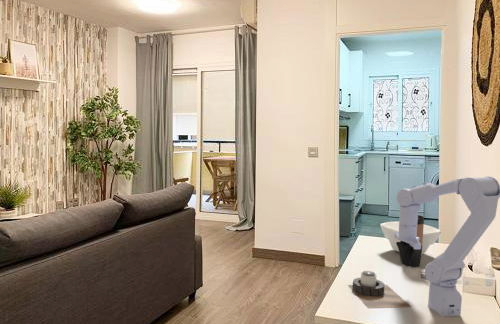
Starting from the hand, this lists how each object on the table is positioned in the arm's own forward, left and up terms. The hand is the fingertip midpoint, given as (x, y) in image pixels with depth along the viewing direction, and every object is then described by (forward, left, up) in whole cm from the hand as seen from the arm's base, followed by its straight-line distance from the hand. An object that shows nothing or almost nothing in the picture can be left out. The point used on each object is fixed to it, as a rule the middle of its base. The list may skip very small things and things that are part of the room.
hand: (405, 264), depth 141 cm
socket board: (-5, +11, -10) cm, 15 cm away
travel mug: (+28, -17, -10) cm, 34 cm away
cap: (0, +13, -9) cm, 16 cm away
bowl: (+44, -24, -10) cm, 51 cm away
